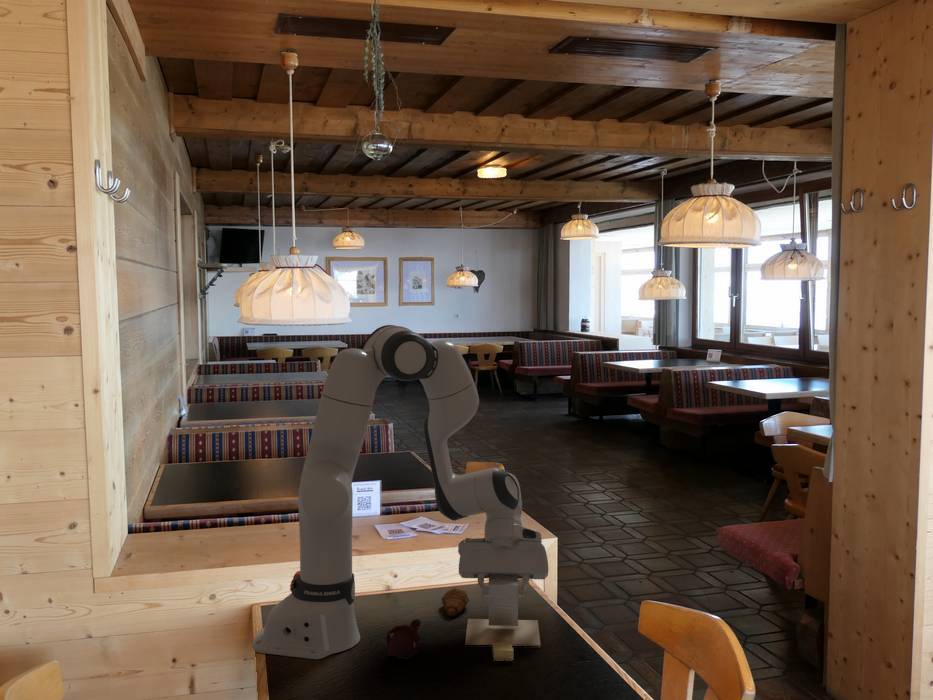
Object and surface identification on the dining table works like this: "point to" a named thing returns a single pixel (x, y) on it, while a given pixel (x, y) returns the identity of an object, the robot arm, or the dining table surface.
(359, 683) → the dining table surface
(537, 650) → the dining table surface
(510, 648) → the block
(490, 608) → the cover
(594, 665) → the dining table surface
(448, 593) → the croissant
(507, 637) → the board
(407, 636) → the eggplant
